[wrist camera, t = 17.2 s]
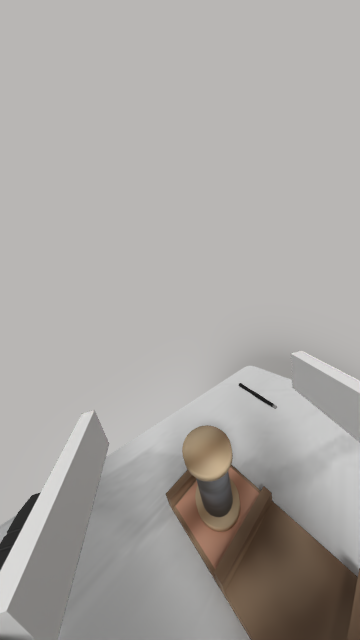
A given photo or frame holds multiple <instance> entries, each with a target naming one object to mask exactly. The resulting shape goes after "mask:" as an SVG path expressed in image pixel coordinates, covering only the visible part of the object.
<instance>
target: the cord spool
mask: <svg viewBox="0 0 360 640" xmlns="http://www.w3.org/2000/svg"><path fill="white" fill-rule="evenodd" d="M182 452H183V458H184V461H185V465H186V467H187V469H188V471H189V472H190V473H191V474H192V475H193V476H194V477H195V478H196V480H197V484H198V485H197V488H196V495H195V499H196V505H197V509H198V512H199V515H200V517H201V519H202V521H203V522H204V523H205V525H206V526H207V527H209V528H210V529H212V530H214V531H217V532H225V531H228V530H230V529H231V528H232V527H233V526H234V525H235V524H236V522H237V520H238V518H239V515H240V499H239V493H238V490H237V488H236V486H235V484H234V482H233V481H232V480H231V479H230V478H229V473H228V470H229V469H230V466H231V463H232V449H231V444H230V441H229V439H228V437H227V436H226V434H225V433H224V432H223V431H222V430H220V429H218V428H216V427H213V426H201V427H198V428H196V429H194V430H192V431H191V432H190V433H189V434H188V435H187V437H186V438H185V441H184V443H183V448H182Z"/></svg>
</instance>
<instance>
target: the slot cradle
mask: <svg viewBox="0 0 360 640" xmlns="http://www.w3.org/2000/svg"><path fill="white" fill-rule="evenodd" d="M228 473H229V478H230V479H231V480H232V481H233V482H234V484H235V486H236V488H237V490H238V493H239V499H240V515H239V518H238V520H237V522H236V524H235V525H234V526H233V527H232V528H231V529H230V530H228V531H225V532H217V531H214V530H212V529H210V528H209V527H207V526H206V525H205V523H204V522H203V521H202V519H201V517H200V515H199V512H198V509H197V505H196V499H195V495H196V488H197V485H198V484H197V480H196V478H195V477H194V476H193V475H192V474H191V473H190V472H189V471H188V470H187V471H186V472H185V473H184V474H183V476H182V477H181V478H180V479H179V480H178V481H177V482H176V483H175V484H174V485H173V487H172V488H171V489H170V490H169V491H168V492H167V493H166V496H167V499H168V502H169V504H170V506H171V508H172V510H173V511H174V513H175V515H176V516H177V518H178V520H179V521H180V523H181V525H182V526H183V528H184V530H185V531H186V533H187V535H188V536H189V538H190V539H191V541H192V543H193V544H194V546H195V548H196V549H197V551H198V553H199V554H200V556H201V558H202V559H203V561H204V563H205V564H206V566H207V568H208V569H209V571H210V573H211V574H212V576H213V578H214V579H215V581H216V582H217V584H218V586H219V587H220V589H221V591H222V592H223V594H224V596H225V597H226V599H227V601H228V602H229V604H230V606H231V607H232V609H233V611H234V612H235V614H236V616H237V617H238V619H239V621H240V622H241V624H242V626H243V627H244V629H245V630H246V632H247V634H248V635H249V637H250V639H251V640H360V568H359V574H358V577H357V576H356V575H355V574H354V573H352V572H351V571H350V570H349V569H348V568H347V567H346V566H345V565H343V564H342V563H341V562H340V561H339V560H338V559H337V558H336V557H334V556H333V555H332V554H331V553H330V552H329V551H328V550H327V549H325V548H324V547H323V546H322V545H321V544H320V543H319V542H318V541H316V540H315V539H314V538H313V537H312V536H311V535H310V534H309V533H307V532H306V531H305V530H304V529H303V528H302V527H301V526H300V525H298V524H297V523H296V522H295V521H294V520H293V519H292V518H291V517H289V516H288V515H287V514H286V513H285V512H284V511H283V510H282V509H280V508H279V507H278V506H277V505H276V504H275V503H274V502H273V501H272V493H271V492H270V491H269V490H268V489H266V488H265V487H263V488H262V490H261V491H260V490H259V489H258V488H257V487H256V486H255V485H253V484H252V483H251V482H250V481H249V480H248V479H247V478H246V477H244V476H243V475H242V474H241V473H240V472H239V471H238V470H237V469H235V468H234V467H233V466H232V465H231V466H230V469H229V470H228Z"/></svg>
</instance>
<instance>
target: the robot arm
mask: <svg viewBox="0 0 360 640" xmlns="http://www.w3.org/2000/svg"><path fill="white" fill-rule="evenodd" d="M291 361H292V362H291V363H292V385H293V388H294V389H295V390H296V391H297V392H298V393H300V394H301V395H302V396H303V397H305V398H306V399H307V400H308V401H310V402H311V403H312V404H313V405H314V406H316V407H317V408H318V409H319V410H321V411H322V412H323V413H324V414H325V415H327V416H328V417H329V418H330V419H332V420H333V421H334V422H335V423H337V424H338V425H339V426H340V427H341V428H343V429H344V430H345V431H346V432H348V433H349V434H350V435H351V436H353V437H354V438H355V439H356V440H357V441H359V442H360V381H359V380H357V379H355V378H353V377H352V376H349V375H348V374H346V373H344V372H342V371H340V370H338V369H336V368H334V367H332V366H330V365H328V364H326V363H324V362H322V361H320V360H319V359H316V358H315V357H313V356H311V355H309V354H307V353H305V352H303V351H299V352H295V353H292V354H291ZM108 446H109V442H108V440H107V438H106V435H105V433H104V431H103V428H102V426H101V424H100V422H99V419H98V417H97V415H96V413H95V411H94V410H93V411H89V412H86V413H82V414H81V416H80V418H79V420H78V422H77V424H76V426H75V428H74V429H73V431H72V434H71V435H70V437H69V439H68V441H67V443H66V445H65V447H64V449H63V451H62V453H61V455H60V457H59V459H58V460H57V462H56V464H55V467H54V468H53V470H52V472H51V474H50V476H49V478H48V480H47V482H46V484H45V486H44V487H43V490H42V491H41V493H38V494H35V495H32V496H31V497H30V499H29V500H28V501H27V502H26V503H25V505H24V506H23V507H22V509H21V510H20V511H19V512H18V514H17V516H16V517H15V519H14V521H13V523H12V524H11V526H10V528H9V530H8V531H7V535H6V536H5V537H4V538H3V540H2V542H1V544H0V640H58V636H59V632H60V628H61V625H62V621H63V617H64V613H65V609H66V606H67V602H68V598H69V594H70V590H71V587H72V583H73V579H74V575H75V571H76V568H77V564H78V560H79V556H80V552H81V549H82V545H83V541H84V537H85V534H86V530H87V526H88V522H89V518H90V515H91V511H92V507H93V503H94V499H95V496H96V492H97V488H98V484H99V480H100V477H101V473H102V469H103V465H104V461H105V458H106V454H107V450H108Z"/></svg>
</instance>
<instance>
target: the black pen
mask: <svg viewBox="0 0 360 640" xmlns="http://www.w3.org/2000/svg"><path fill="white" fill-rule="evenodd" d="M239 386H240V387H242V388H243V389H245V390H247V391H248V392H250V393H251V394H253V395H254V396H255V397H257V398H258V399H260V400H262V401H263V402H265V403H267V404H268V405H270V406H271V407H274V408H275V409H276V408H277V406H276V405H274V404H273V403H271V402H269V401H268V400H266V399H265V398H263V397H262V396H260V395H259V394H257V393H256V392H254V391H252V390H250V389H249V388H247V387H246V386H244V385H243V384H241V383H240V384H239Z"/></svg>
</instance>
